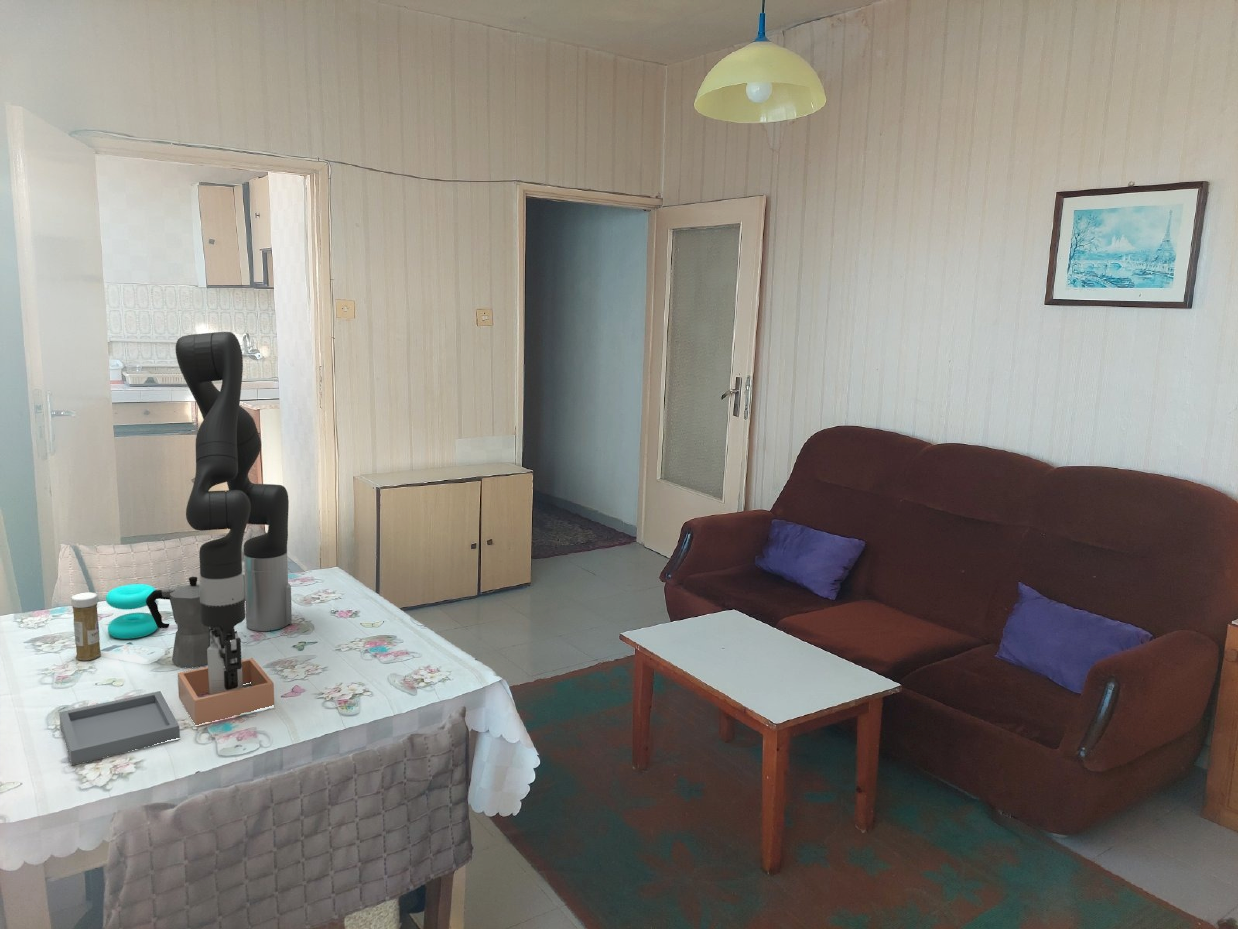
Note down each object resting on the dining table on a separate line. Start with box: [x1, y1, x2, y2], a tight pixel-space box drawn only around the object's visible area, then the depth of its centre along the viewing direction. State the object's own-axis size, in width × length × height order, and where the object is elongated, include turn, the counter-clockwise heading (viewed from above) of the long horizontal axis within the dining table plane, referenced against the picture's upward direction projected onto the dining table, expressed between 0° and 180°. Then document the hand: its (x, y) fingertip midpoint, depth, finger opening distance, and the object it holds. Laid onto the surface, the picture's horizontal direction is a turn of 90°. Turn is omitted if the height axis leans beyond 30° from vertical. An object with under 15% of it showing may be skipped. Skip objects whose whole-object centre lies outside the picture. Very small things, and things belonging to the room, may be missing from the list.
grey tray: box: [58, 690, 181, 766], centre depth 153 cm, size 16×16×2 cm
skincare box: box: [207, 636, 244, 695], centre depth 165 cm, size 6×4×12 cm
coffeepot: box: [146, 576, 209, 669], centre depth 182 cm, size 15×9×18 cm, turn 110°
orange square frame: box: [177, 657, 275, 726], centre depth 165 cm, size 14×14×5 cm
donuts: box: [105, 583, 159, 640], centre depth 196 cm, size 10×10×10 cm
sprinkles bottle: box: [71, 592, 102, 662], centre depth 181 cm, size 5×5×14 cm
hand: (225, 680), depth 165 cm, fingers closed on skincare box, 7 cm apart
